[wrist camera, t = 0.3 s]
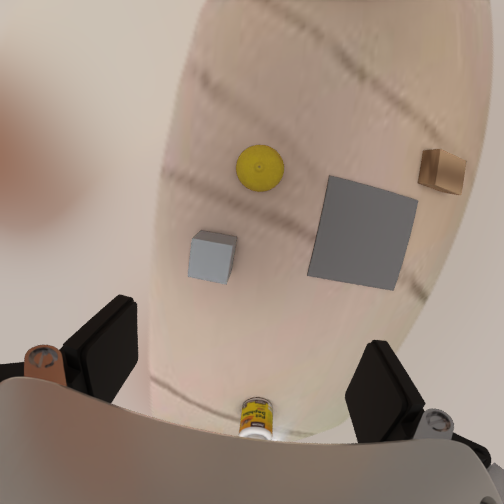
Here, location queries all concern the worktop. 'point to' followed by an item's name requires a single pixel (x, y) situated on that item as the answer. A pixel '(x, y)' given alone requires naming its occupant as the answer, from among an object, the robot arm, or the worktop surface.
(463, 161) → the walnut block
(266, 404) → the supplement bottle
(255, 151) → the lemon
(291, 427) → the worktop surface
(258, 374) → the worktop surface
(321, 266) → the mat
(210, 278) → the slate block
